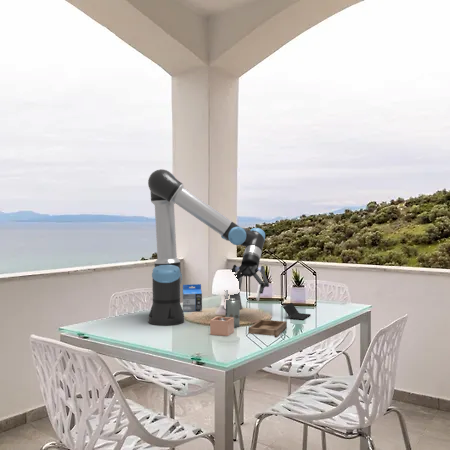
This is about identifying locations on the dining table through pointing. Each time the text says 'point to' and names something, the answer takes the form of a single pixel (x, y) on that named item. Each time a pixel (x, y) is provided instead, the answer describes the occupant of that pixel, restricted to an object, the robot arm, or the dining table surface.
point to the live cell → (233, 311)
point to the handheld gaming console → (295, 313)
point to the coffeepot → (237, 296)
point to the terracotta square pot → (221, 326)
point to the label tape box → (192, 298)
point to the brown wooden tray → (268, 327)
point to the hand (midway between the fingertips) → (241, 298)
